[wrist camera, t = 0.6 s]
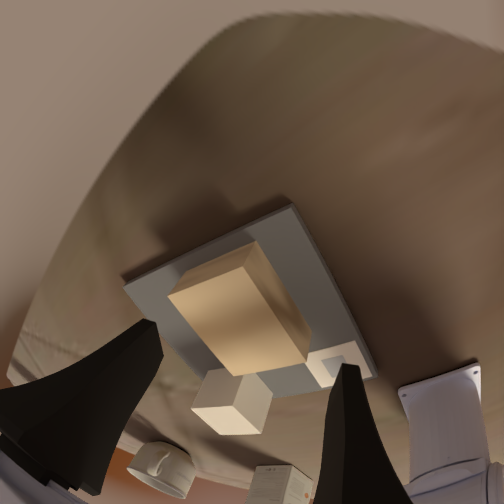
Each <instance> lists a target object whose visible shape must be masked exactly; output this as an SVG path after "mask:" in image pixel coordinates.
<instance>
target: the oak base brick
mask: <svg viewBox="0 0 504 504" xmlns="http://www.w3.org/2000/svg"><path fill="white" fill-rule="evenodd" d="M167 297H168V298H169V299H170V300H171V302H172V303H173V304H174V306H175V307H176V308H177V309H178V311H179V312H180V313H181V314H182V316H183V317H184V318H185V319H186V321H187V322H188V323H189V324H190V326H191V327H192V328H193V329H194V331H195V332H196V333H197V334H198V335H199V337H200V338H201V339H202V340H203V341H204V343H205V344H206V345H207V346H208V347H209V349H210V350H211V351H212V352H213V353H214V355H215V356H216V357H217V358H218V359H219V360H220V362H221V363H222V364H223V365H224V366H225V367H226V368H227V370H228V371H229V372H230V373H231V374H232V375H233V376H238V375H244V374H250V373H256V372H261V371H267V370H272V369H277V368H282V367H287V366H292V365H296V364H301V363H305V362H307V358H308V352H309V346H310V340H311V334H312V330H311V329H310V327H309V326H308V324H307V322H306V321H305V319H304V317H303V316H302V314H301V312H300V311H299V309H298V308H297V306H296V304H295V303H294V301H293V299H292V298H291V296H290V295H289V293H288V291H287V290H286V288H285V286H284V285H283V283H282V282H281V280H280V278H279V277H278V275H277V273H276V272H275V270H274V269H273V267H272V265H271V264H270V262H269V260H268V259H267V257H266V256H265V254H264V252H263V251H262V249H261V248H260V246H259V244H258V243H257V241H254V242H252V243H250V244H247V245H245V246H243V247H240V248H238V249H236V250H233V251H231V252H229V253H227V254H224V255H222V256H220V257H217V258H215V259H213V260H211V261H208V262H206V263H204V264H201V265H199V266H197V267H195V268H192V269H190V270H188V271H186V272H185V273H184V275H183V276H182V277H181V279H180V280H179V281H178V283H177V284H176V285H175V286H174V288H173V289H172V290H171V292H170V293H169V294H168V296H167Z"/></svg>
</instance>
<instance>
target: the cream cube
mask: <svg viewBox="0 0 504 504" xmlns="http://www.w3.org/2000/svg"><path fill="white" fill-rule="evenodd" d="M272 395H273V393H272V392H271V391H270V389H269V388H268V387H267V386H266V385H265V383H264V382H263V381H262V380H261V379H260V378H259V376H258V375H257V374H256V373H250V374H244V375H238V376H233V375H232V374H231V373H230V372H229V371H228V370H227V368H221V369H215V370H209V371H208V372H207V374H206V376H205V379H204V381H203V383H202V385H201V387H200V389H199V391H198V393H197V396H196V398H195V400H194V402H193V404H192V406H191V408H190V409H192V410H193V411H194V412H195V413H196V414H197V415H198V416H199V417H200V418H201V419H203V420H204V421H205V422H206V423H207V424H208V425H209V426H211V427H212V428H213V429H214V430H215V431H216V432H218V433H219V434H220V435H241V434H262V430H263V427H264V423H265V420H266V417H267V413H268V409H269V406H270V402H271V399H272Z"/></svg>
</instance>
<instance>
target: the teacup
mask: <svg viewBox="0 0 504 504" xmlns="http://www.w3.org/2000/svg"><path fill="white" fill-rule="evenodd" d="M127 470H128V471H129V472H130V473H131V474H132V475H134V476H135V477H137V478H138V479H139V480H141V481H143V482H144V483H146V484H148V485H150V486H151V487H153V488H155V489H157V490H159V491H162V492H164V493H166V494H169V495H171V496H174V497H177V498H181V499H185V498H186V495H187V493H188V490H189V488H190V486H191V484H192V482H193V480H194V477H195V474H196V468H195V466H194V464H193V462H192V459H191V458H190V456H189V455H188V454H186V453H185V452H184V451H182V450H180V449H179V448H177V447H175V446H173V445H171V444H168V443H165V442H161V441H157V442H151V443H146V444H145V445H143V446H142V447H141V448H140V450H139V451H138V452H137V454H136V455H135V457H134V459H133V460H132V462H131V463H130V465H129V466H128V467H127Z"/></svg>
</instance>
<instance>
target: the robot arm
mask: <svg viewBox="0 0 504 504" xmlns="http://www.w3.org/2000/svg"><path fill="white" fill-rule="evenodd" d="M163 356H164V355H163V351H162V346H161V342H160V338H159V333H158V329H157V324H156V322H154V321H150V320H147V319H144V318H143V319H142V320H140V321H139V322H137V323H136V324H134V325H133V326H132V327H130V328H129V329H127V330H126V331H124V332H123V333H122V334H120V335H119V336H117V337H116V338H114V339H113V340H111V341H110V342H108V343H107V344H106V345H104V346H103V347H101V348H100V349H98V350H96V351H95V352H93V353H91V354H90V355H88V356H87V357H85V358H83V359H82V360H80V361H78V362H76V363H75V364H73V365H71V366H69V367H67V368H65V369H63V370H61V371H58V372H56V373H54V374H51V375H49V376H46V377H44V378H41V379H39V380H36V381H33V382H30V383H26V384H23V385H19V386H15V387H10V388H5V389H1V390H0V432H1V433H2V434H1V436H0V504H88V503H86V502H85V501H83V500H81V499H80V498H78V497H77V496H75V495H73V494H72V493H70V492H69V491H68V489H69V487H71V488H73V489H74V490H75V491H77V490H78V489H79V488H80V489H82V490H84V491H85V492H87V493H88V494H90V495H92V496H96V495H99V494H100V493H101V489H102V485H103V482H104V478H105V475H106V472H107V469H108V466H109V463H110V460H111V458H112V455H113V453H114V450H115V448H116V445H117V443H118V440H119V438H120V436H121V434H122V431H123V429H124V427H125V425H126V423H127V421H128V419H129V417H130V416H131V414H132V412H133V411H134V409H135V408H136V406H137V404H138V403H139V401H140V399H141V398H142V396H143V395H144V393H145V391H146V390H147V388H148V387H149V385H150V383H151V382H152V380H153V378H154V377H155V375H156V372H157V370H158V368H159V366H160V363H161V361H162V359H163ZM398 395H399V397H400V400H401V403H402V405H403V408H404V410H405V413H406V416H407V418H408V421H409V433H410V481H409V484H407V485H404V486H403V485H402V484H401V482H400V480H399V478H398V477H397V475H396V473H395V471H394V469H393V467H392V464H391V462H390V460H389V458H388V456H387V454H386V451H385V449H384V446H383V444H382V441H381V439H380V436H379V433H378V431H377V428H376V425H375V422H374V419H373V416H372V413H371V410H370V406H369V403H368V399H367V396H366V392H365V388H364V384H363V380H362V375H361V370H360V367H359V366H358V365H354V364H347V363H342V364H341V366H340V369H339V372H338V374H337V377H336V380H335V382H334V385H333V387H332V390H331V392H330V396H329V401H328V407H327V412H326V418H325V429H324V440H323V451H322V461H321V470H320V476H319V481H318V485H317V490H316V494H315V498H314V502H313V504H504V465H502V464H500V463H499V462H495V463H493V464H492V463H491V462H490V457H489V449H488V442H487V436H486V430H485V424H484V418H483V413H482V408H481V369H480V364H479V363H473V364H471V365H468V366H466V367H463V368H460V369H457V370H454V371H452V372H449V373H446V374H443V375H440V376H437V377H434V378H430V379H427V380H424V381H421V382H417V383H414V384H410V385H407V386H403V387H400V388H399V389H398Z"/></svg>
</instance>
